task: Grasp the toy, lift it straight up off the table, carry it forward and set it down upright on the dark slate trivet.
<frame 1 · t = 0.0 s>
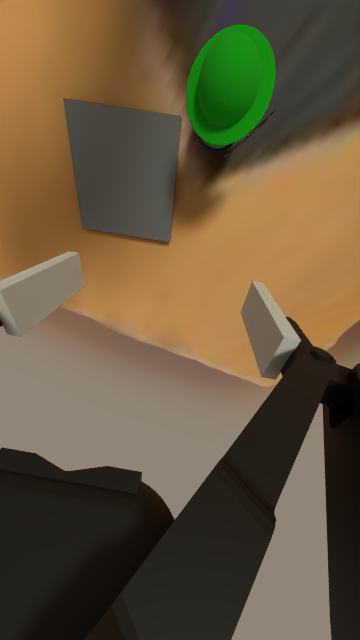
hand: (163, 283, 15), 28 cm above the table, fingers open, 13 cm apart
trivet: (126, 181, 34), on the table
toy: (219, 125, 29), on the table
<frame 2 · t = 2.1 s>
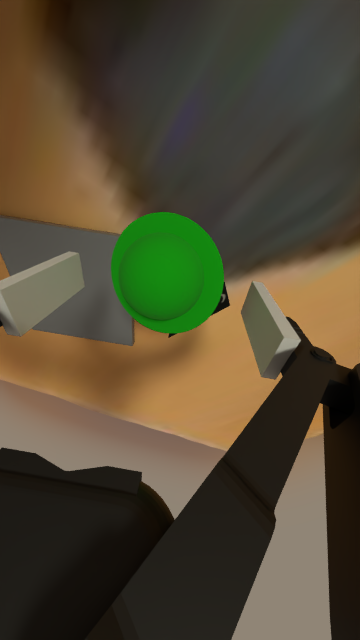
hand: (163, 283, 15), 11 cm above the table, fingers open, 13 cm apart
trivet: (76, 288, 29), on the table
toy: (179, 243, 24), on the table
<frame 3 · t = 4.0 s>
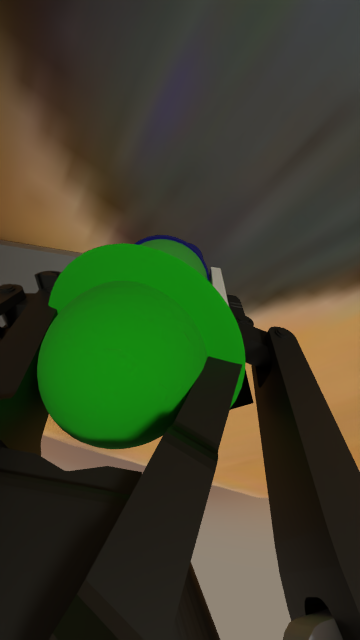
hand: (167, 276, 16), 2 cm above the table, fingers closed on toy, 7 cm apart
trivet: (42, 319, 23), on the table
toy: (172, 267, 18), on the table, touching gripper
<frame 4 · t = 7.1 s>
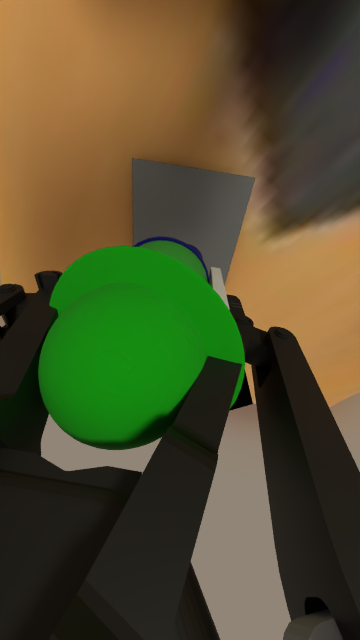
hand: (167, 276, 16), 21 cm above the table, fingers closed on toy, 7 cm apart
trivet: (185, 233, 33), on the table
toy: (172, 268, 18), point 19 cm above the table, touching gripper
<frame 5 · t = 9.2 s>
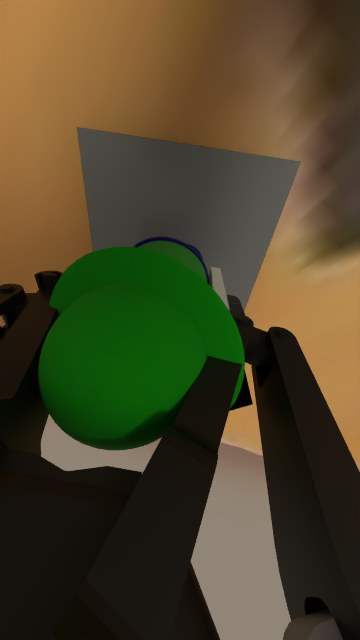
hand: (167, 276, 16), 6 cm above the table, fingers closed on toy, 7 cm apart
trivet: (176, 254, 21), on the table
toy: (172, 268, 18), point 4 cm above the table, touching gripper
when the fingers open (4 cm above the table, at t = 10.4 s): toy drops 1 cm, resting on trivet.
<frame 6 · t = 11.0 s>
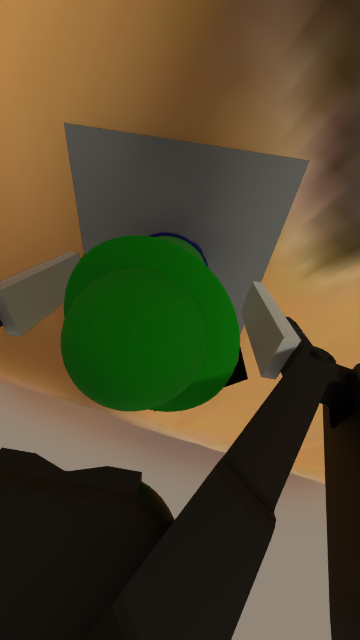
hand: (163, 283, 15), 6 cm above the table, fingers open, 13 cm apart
trivet: (174, 260, 20), on the table
toy: (174, 263, 19), point 1 cm above the table, touching trivet
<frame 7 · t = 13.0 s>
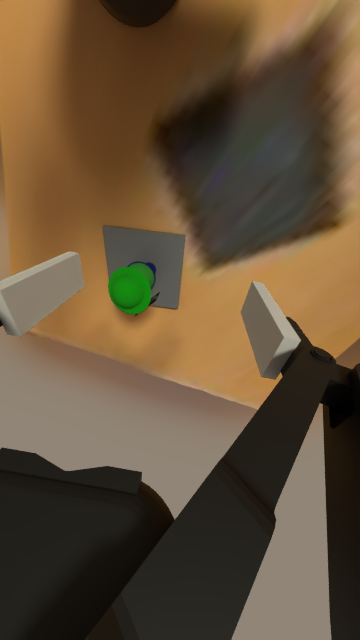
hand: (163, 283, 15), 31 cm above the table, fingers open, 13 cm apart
trivet: (145, 270, 46), on the table
toy: (145, 271, 45), point 1 cm above the table, touching trivet
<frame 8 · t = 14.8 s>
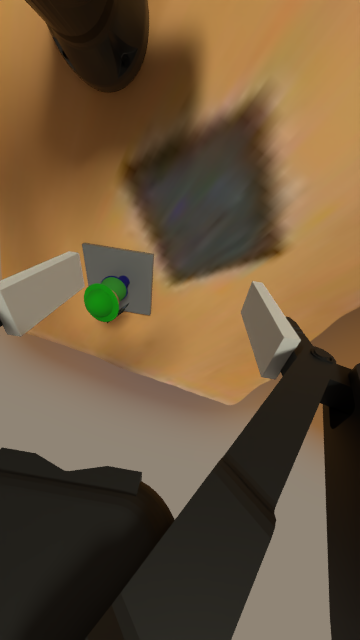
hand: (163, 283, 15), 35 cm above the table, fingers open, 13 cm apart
trivet: (120, 281, 53), on the table
toy: (120, 282, 52), point 1 cm above the table, touching trivet
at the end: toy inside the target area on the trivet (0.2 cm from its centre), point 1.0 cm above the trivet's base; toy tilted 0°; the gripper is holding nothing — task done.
